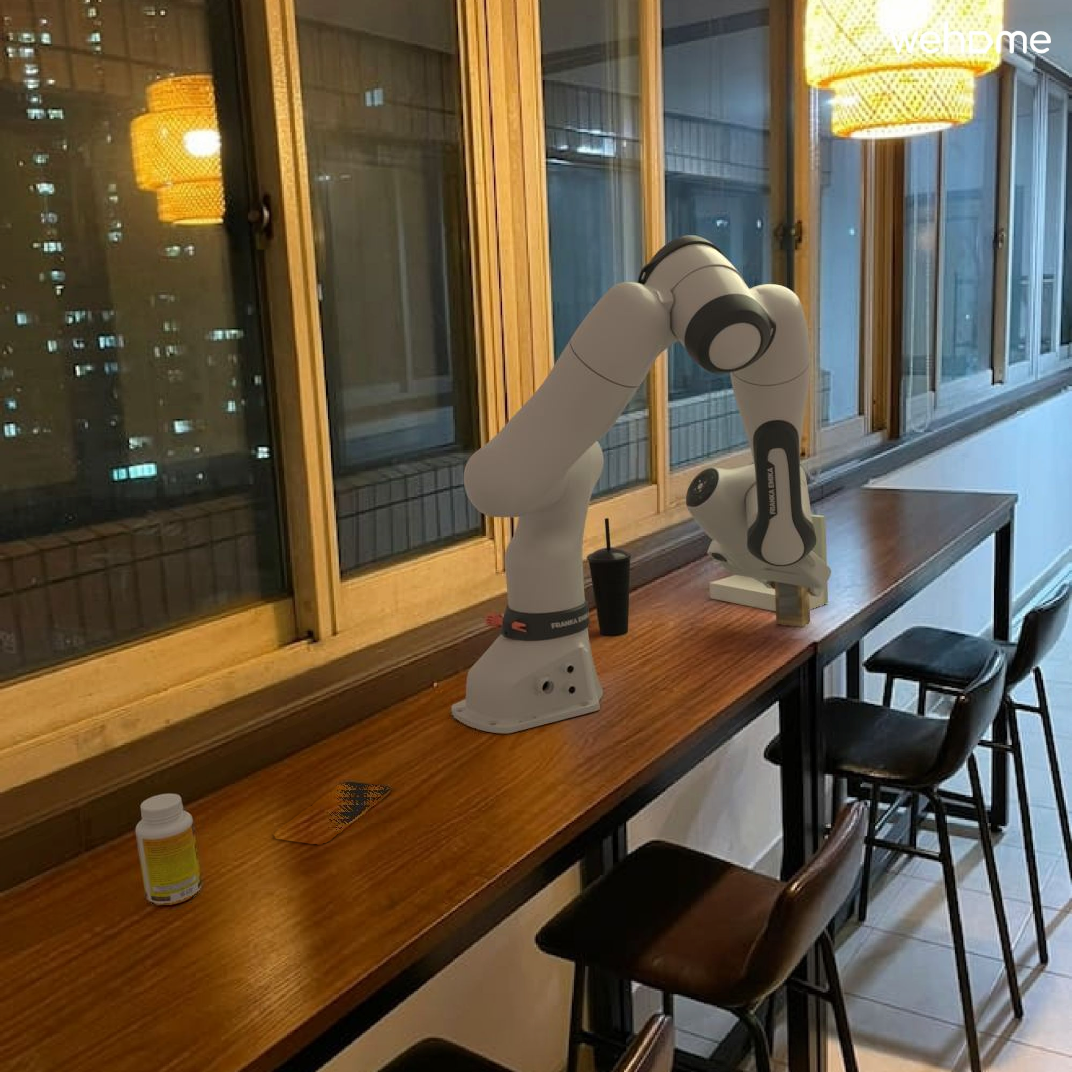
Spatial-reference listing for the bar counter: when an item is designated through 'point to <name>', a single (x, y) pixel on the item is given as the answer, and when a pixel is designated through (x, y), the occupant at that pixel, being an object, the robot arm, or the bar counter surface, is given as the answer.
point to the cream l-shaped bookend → (757, 592)
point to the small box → (792, 604)
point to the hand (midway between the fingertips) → (795, 589)
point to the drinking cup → (611, 586)
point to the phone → (360, 800)
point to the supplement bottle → (167, 850)
